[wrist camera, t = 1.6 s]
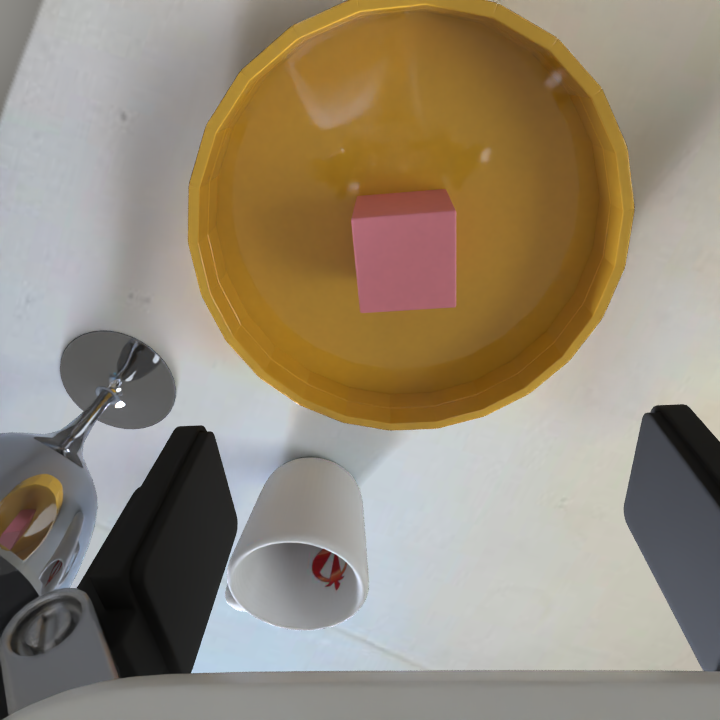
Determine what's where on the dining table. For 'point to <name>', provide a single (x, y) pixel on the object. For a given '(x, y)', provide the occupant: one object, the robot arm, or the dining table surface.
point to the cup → (302, 549)
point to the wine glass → (70, 464)
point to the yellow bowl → (407, 174)
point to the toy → (405, 251)
